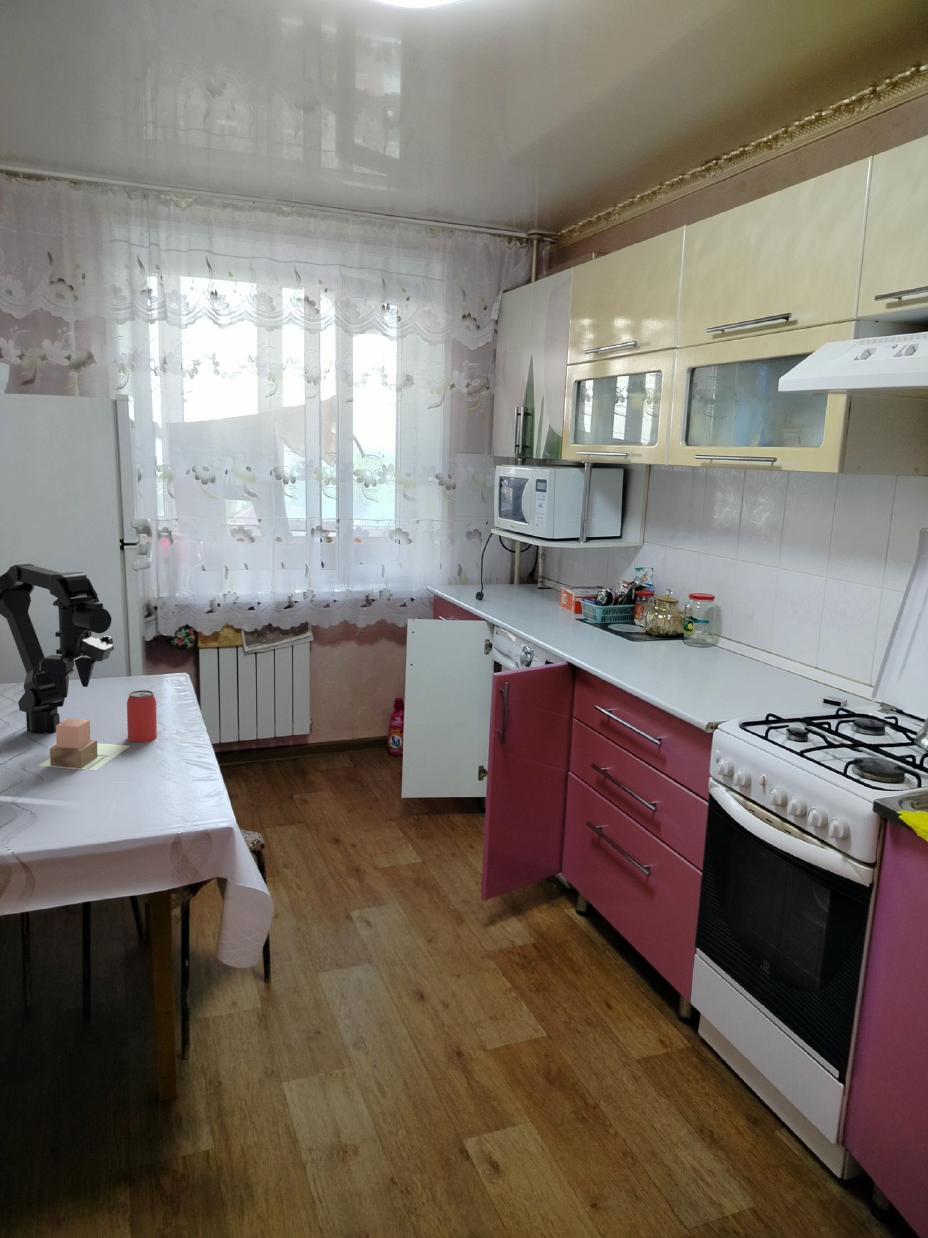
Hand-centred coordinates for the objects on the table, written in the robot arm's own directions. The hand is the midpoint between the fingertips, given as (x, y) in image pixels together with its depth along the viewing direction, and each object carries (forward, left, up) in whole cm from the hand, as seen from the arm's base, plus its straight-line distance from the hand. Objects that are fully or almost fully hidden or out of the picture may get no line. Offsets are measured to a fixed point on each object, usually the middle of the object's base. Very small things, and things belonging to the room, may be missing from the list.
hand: (75, 692), depth 198 cm
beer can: (+13, +6, -13) cm, 20 cm away
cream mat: (+6, -8, -13) cm, 17 cm away
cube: (+6, -12, -8) cm, 16 cm away
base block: (+6, -12, -12) cm, 18 cm away
